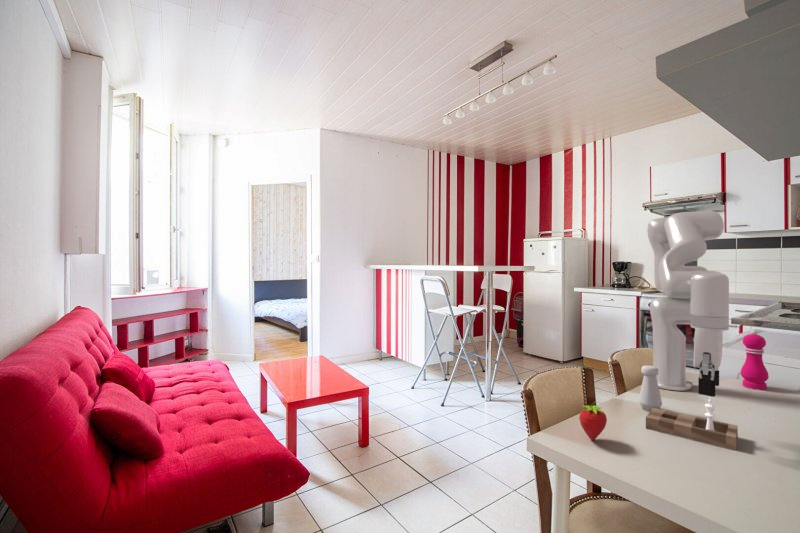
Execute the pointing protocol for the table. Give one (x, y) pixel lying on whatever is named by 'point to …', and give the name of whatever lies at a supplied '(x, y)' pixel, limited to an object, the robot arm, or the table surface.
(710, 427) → the chess piece
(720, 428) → the socket plate
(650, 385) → the salt shaker
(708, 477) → the table surface
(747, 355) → the pepper mill
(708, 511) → the table surface
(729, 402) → the table surface
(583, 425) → the strawberry
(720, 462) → the table surface
